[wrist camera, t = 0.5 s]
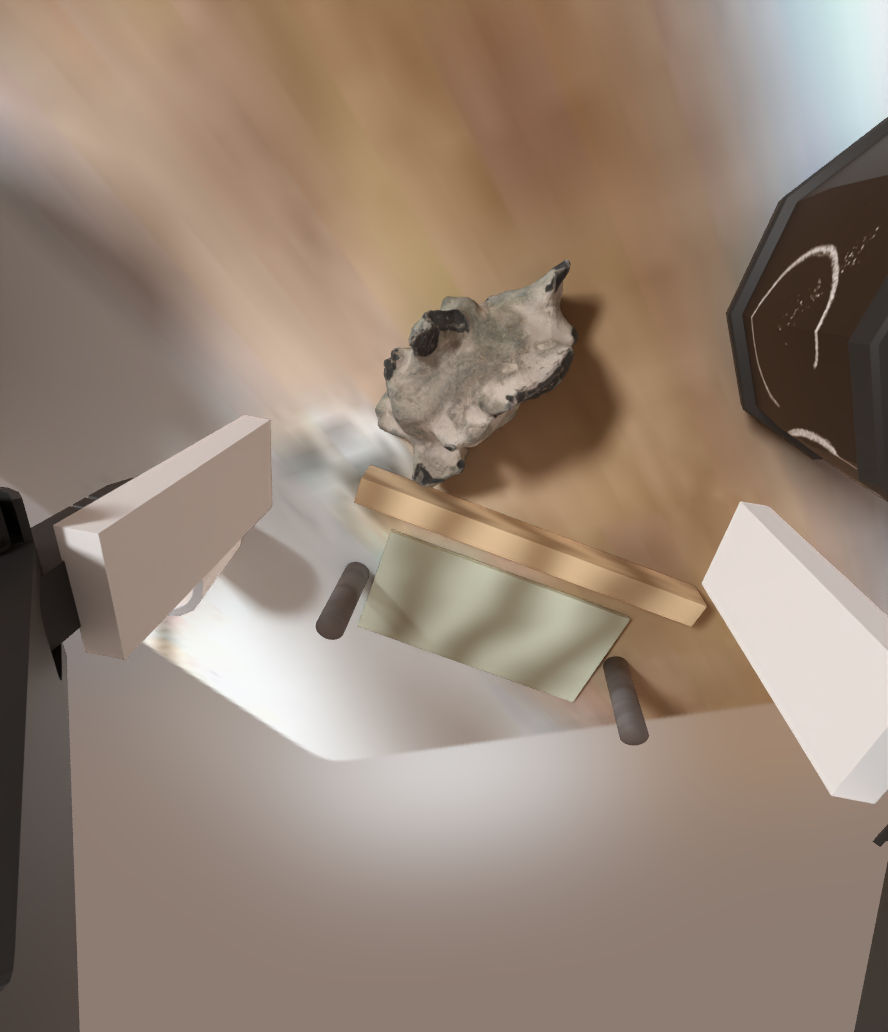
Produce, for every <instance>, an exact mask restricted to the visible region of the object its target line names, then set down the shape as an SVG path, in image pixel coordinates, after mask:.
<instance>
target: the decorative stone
mask: <svg viewBox="0 0 888 1032" xmlns="http://www.w3.org/2000/svg"><path fill="white" fill-rule="evenodd" d="M569 270H570V261H569V260H567V259H566V260H564V261H563V262H562V263H561V264H559V265H557V266H555V267H554V268H552V269H551V270H550V271H549V272H548V273H546V274H545V275H544V276H543V277H542V278H540V279H539V280H538V281H536V282H535V283H533V284H531V285H529V286H526V287H524V288H522V289H518V290H511V291H506V292H503V293H500V294H498V295H497V296H490V297H488V298H487V300H486V301H485V302H483V303H481V304H477V303H476V302H475V301H474V300H472V299H470V298H468V297H449V296H448V297H446V298H444V299H443V300H442V304H441V310H435V311H432V310H430V311H428V312H425V313H424V314H423V316H422V318H421V319H420V320H419V321H418V322H417V323H416V324H415V325H414V326H413V328H412V330H411V334H410V337H409V346H411V347H412V348H395V349H393V350H392V352H391V358H389V359H386V360H384V366H385V368H384V377H385V380H386V386H387V392H386V393H385V394H384V395H383V397H382V399H381V400H380V402H379V403H378V405H377V407H376V409H375V412H376V414H377V417H378V426H379V428H380V429H382V430H384V431H386V432H388V433H391V434H393V435H396V436H399V437H401V438H404V439H406V440H407V441H409V442H410V443H411V445H412V446H413V450H414V469H413V475H412V479H413V480H414V481H415V482H416V483H418V484H419V485H421V486H422V487H434V486H436V485H437V484H439V483H441V482H444V481H445V480H446V479H448V478H450V477H451V476H453V475H457V474H460V473H461V472H462V471H463V469H464V466H465V463H464V461H465V459H466V457H467V455H468V453H469V448H468V447H476V446H477V445H478V444H479V443H481V442H482V441H483V440H485V439H486V438H488V437H489V436H490V435H491V434H492V433H493V432H494V431H495V430H497V429H498V428H499V429H500V428H501V427H502V426H503V425H505V424H506V423H508V422H509V421H510V420H512V419H513V418H514V416H515V415H516V413H517V412H518V410H519V406H520V403H522V402H524V401H526V400H529V399H535V398H538V397H540V396H541V395H543V394H544V393H546V392H549V391H551V390H553V389H554V388H555V387H556V386H557V385H558V384H559V383H560V382H561V381H562V379H563V378H564V377H565V375H566V373H567V372H568V370H569V367H570V365H571V362H572V360H573V356H574V351H573V349H572V345H574V344H576V342H577V341H578V334H577V331H576V330H575V328H574V327H573V326H571V325H570V324H569V323H568V322H567V320H566V319H565V318H564V316H563V314H562V312H561V309H560V301H561V296H562V291H563V280H564V278H565V277H566V275H567V274H568V272H569Z"/></svg>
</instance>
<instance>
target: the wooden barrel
mask: <svg viewBox="0 0 888 1032" xmlns="http://www.w3.org/2000/svg"><path fill="white" fill-rule="evenodd" d="M726 317H727V323H728V329H729V335H730V341H731V347H732V353H733V359H734V365H735V371H736V377H737V383H738V389H739V395H740V401H741V405H742V408H743V410H745V411H746V412H747V413H749V414H750V415H752V416H753V417H754V418H756V419H757V420H758V421H760V422H761V423H763V424H764V425H765V426H767V427H768V428H770V429H771V430H772V431H774V432H775V433H777V434H778V435H779V436H781V437H782V438H784V439H785V440H786V441H788V442H789V443H791V444H792V445H793V446H795V447H796V448H798V449H799V450H800V451H802V452H803V453H804V454H806V455H807V456H809V457H810V458H811V459H825V460H826V461H827V462H829V463H830V464H831V465H833V466H834V467H836V468H837V469H838V470H840V471H841V472H843V473H844V474H845V475H847V476H848V477H850V478H851V479H852V480H854V481H855V482H857V483H859V484H860V485H862V486H863V487H865V488H867V489H868V490H870V491H871V492H873V493H875V494H876V495H878V496H880V497H881V498H883V499H884V500H886V501H888V117H887V118H886V119H884V120H883V121H882V122H881V123H879V124H878V125H877V126H875V127H874V128H873V129H872V130H870V131H869V132H868V133H866V134H865V135H864V136H862V137H861V138H860V139H859V140H857V141H856V142H855V143H853V144H852V145H851V146H849V147H848V148H847V149H846V150H844V151H843V152H842V153H840V154H839V155H838V156H836V157H835V158H834V159H833V160H831V161H830V162H829V163H827V164H826V165H825V166H824V167H822V168H821V169H820V170H818V171H817V172H816V173H814V174H813V175H812V176H811V177H809V178H808V179H807V180H805V181H804V182H803V183H801V184H800V185H799V186H798V187H796V188H795V189H794V190H792V191H791V192H790V193H788V194H787V195H786V196H785V197H783V198H782V199H781V200H780V201H779V202H778V205H777V207H776V209H775V211H774V213H773V215H772V217H771V219H770V221H769V224H768V226H767V228H766V230H765V232H764V234H763V236H762V238H761V240H760V242H759V245H758V247H757V249H756V251H755V253H754V255H753V257H752V259H751V261H750V264H749V266H748V268H747V270H746V272H745V274H744V276H743V278H742V280H741V283H740V285H739V287H738V289H737V291H736V293H735V295H734V297H733V299H732V302H731V304H730V306H729V308H728V310H727V312H726Z"/></svg>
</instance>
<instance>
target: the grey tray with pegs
mask: <svg viewBox="0 0 888 1032" xmlns="http://www.w3.org/2000/svg"><path fill="white" fill-rule="evenodd" d="M354 503H357V504H360V505H362V506H365V507H368V508H371V509H373V510H376V511H379V512H381V513H384V514H387V515H390V516H392V517H395V518H398V519H400V520H403V521H406V522H409V523H411V524H414V525H417V526H419V527H422V528H425V529H427V530H430V531H433V532H436V533H438V534H441V535H444V536H446V537H449V538H452V539H455V540H457V541H460V542H463V543H465V544H468V545H471V546H474V547H476V548H479V549H482V550H484V551H487V552H490V553H493V554H495V555H498V556H501V557H503V558H506V559H509V560H512V561H514V562H517V563H520V564H522V565H525V566H528V567H530V568H533V569H536V570H539V571H541V572H544V573H547V574H549V575H552V576H555V577H558V578H560V579H563V580H566V581H568V582H571V583H574V584H577V585H579V586H582V587H585V588H587V589H590V590H593V591H596V592H598V593H601V594H604V595H606V596H609V597H612V598H615V599H617V600H620V601H623V602H625V603H628V604H631V605H633V606H636V607H639V608H642V609H644V610H647V611H650V612H652V613H655V614H658V615H661V616H663V617H666V618H669V619H671V620H674V621H677V622H680V623H682V624H685V625H688V626H690V627H691V626H692V625H693V624H694V623H695V621H696V620H697V619H698V618H699V616H700V615H701V614H702V612H703V611H704V610H705V609H706V607H707V606H706V604H705V602H704V600H703V599H702V597H701V595H700V594H699V592H698V590H697V588H696V587H695V586H693V585H690V584H688V583H685V582H682V581H680V580H677V579H674V578H672V577H669V576H666V575H664V574H661V573H658V572H656V571H653V570H650V569H648V568H645V567H642V566H640V565H637V564H634V563H631V562H629V561H626V560H623V559H621V558H618V557H615V556H613V555H610V554H607V553H605V552H602V551H599V550H597V549H594V548H591V547H589V546H586V545H583V544H581V543H578V542H575V541H573V540H570V539H567V538H565V537H562V536H559V535H557V534H554V533H551V532H549V531H546V530H543V529H541V528H538V527H535V526H533V525H530V524H527V523H525V522H522V521H519V520H517V519H514V518H511V517H509V516H506V515H503V514H501V513H498V512H495V511H493V510H490V509H487V508H484V507H482V506H479V505H476V504H474V503H471V502H468V501H466V500H463V499H460V498H458V497H455V496H452V495H450V494H447V493H444V492H442V491H439V490H436V489H434V488H431V487H422V486H421V485H419V484H418V483H416V482H415V481H412V480H410V479H407V478H404V477H402V476H399V475H396V474H394V473H391V472H388V471H386V470H383V469H380V468H378V467H375V466H372V465H370V467H369V468H368V469H367V471H366V472H365V474H364V475H363V477H362V479H361V482H360V485H359V489H358V492H357V495H356V499H355V502H354ZM368 577H369V571H368V569H367V568H366V566H364V565H363V564H361V563H358V562H353V563H350V564H348V565H347V566H346V568H345V570H344V572H343V574H342V576H341V578H340V579H339V581H338V583H337V585H336V587H335V589H334V591H333V593H332V594H331V596H330V598H329V600H328V602H327V604H326V606H325V608H324V609H323V611H322V613H321V615H320V617H319V619H318V621H317V623H316V630H317V632H318V633H319V634H320V635H321V636H322V637H324V638H326V639H330V640H335V639H339V638H340V637H341V636H342V635H343V633H344V631H345V629H346V627H347V624H348V622H349V620H350V618H351V615H352V613H353V611H354V609H355V606H356V604H357V602H358V600H359V597H360V595H361V593H362V591H363V588H364V586H365V584H366V582H367V579H368ZM629 621H630V618H629V616H626V615H624V614H621V613H618V612H615V611H613V610H610V609H607V608H604V607H602V606H599V605H596V604H594V603H591V602H588V601H585V600H583V599H580V598H577V597H575V596H572V595H569V594H566V593H564V592H561V591H558V590H555V589H553V588H550V587H547V586H545V585H542V584H539V583H536V582H534V581H531V580H528V579H526V578H523V577H520V576H517V575H515V574H512V573H509V572H506V571H504V570H501V569H498V568H496V567H493V566H490V565H487V564H485V563H482V562H479V561H477V560H474V559H471V558H468V557H466V556H463V555H460V554H457V553H455V552H452V551H449V550H447V549H444V548H441V547H438V546H436V545H433V544H430V543H428V542H425V541H422V540H419V539H417V538H414V537H411V536H409V535H406V534H403V533H400V532H398V531H395V530H391V533H390V535H389V538H388V541H387V544H386V547H385V550H384V553H383V555H382V558H381V561H380V564H379V567H378V570H377V572H376V575H375V578H374V581H373V584H372V587H371V590H370V592H369V595H368V598H367V601H366V604H365V607H364V609H363V612H362V615H361V618H360V621H359V624H358V627H361V628H364V629H367V630H370V631H373V632H375V633H378V634H381V635H384V636H387V637H390V638H392V639H395V640H398V641H401V642H404V643H406V644H409V645H412V646H415V647H418V648H421V649H423V650H426V651H429V652H432V653H435V654H438V655H440V656H443V657H446V658H449V659H452V660H454V661H457V662H460V663H463V664H466V665H469V666H471V667H474V668H477V669H480V670H483V671H486V672H488V673H491V674H494V675H497V676H500V677H502V678H505V679H508V680H511V681H514V682H517V683H519V684H522V685H525V686H528V687H531V688H533V689H536V690H539V691H542V692H545V693H548V694H550V695H553V696H556V697H559V698H562V699H565V700H567V701H570V702H573V701H574V700H575V698H576V697H577V695H578V694H579V692H580V691H581V690H582V688H583V687H584V685H585V684H586V682H587V681H588V680H589V678H590V677H591V675H592V674H593V672H594V671H595V669H596V668H597V667H598V665H599V664H600V662H601V661H602V659H603V658H604V656H605V655H606V654H607V652H608V651H609V649H610V648H611V646H612V645H613V644H614V642H615V641H616V639H617V638H618V636H619V635H620V633H621V632H622V631H623V629H624V628H625V626H626V625H627V623H628V622H629ZM603 669H604V673H605V677H606V682H607V686H608V690H609V694H610V698H611V703H612V707H613V711H614V715H615V720H616V724H617V728H618V732H619V736H620V739H621V741H622V742H624V743H625V744H628V745H639V744H642V743H644V742H645V741H646V740H647V739H648V737H649V734H648V730H647V727H646V724H645V720H644V717H643V714H642V710H641V707H640V704H639V700H638V697H637V694H636V690H635V687H634V684H633V680H632V677H631V674H630V670H629V667H628V664H627V661H626V660H625V659H623V658H621V657H611V658H608V659H607V660H606V661H605V662H604V664H603Z"/></svg>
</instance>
